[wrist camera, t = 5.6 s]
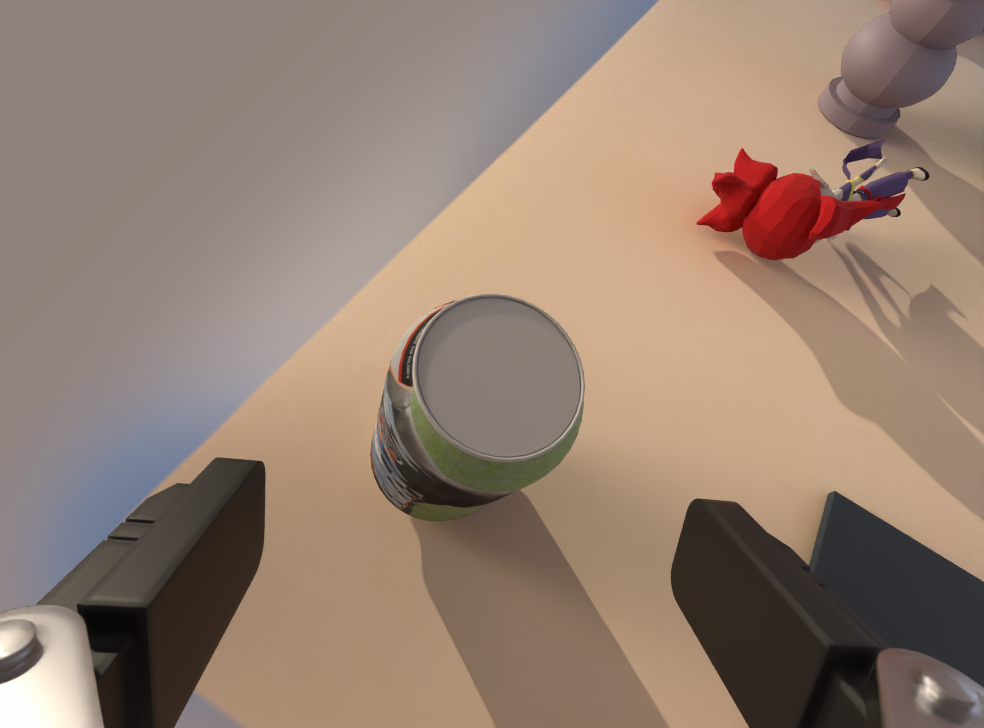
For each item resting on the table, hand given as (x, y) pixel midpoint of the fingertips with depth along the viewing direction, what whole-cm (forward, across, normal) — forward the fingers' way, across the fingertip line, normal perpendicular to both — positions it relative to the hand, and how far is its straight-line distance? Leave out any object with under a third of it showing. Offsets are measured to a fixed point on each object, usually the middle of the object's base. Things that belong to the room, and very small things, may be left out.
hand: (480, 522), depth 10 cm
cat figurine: (+38, -33, -18) cm, 54 cm away
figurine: (+27, -22, -7) cm, 36 cm away
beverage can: (+14, 0, +6) cm, 15 cm away
